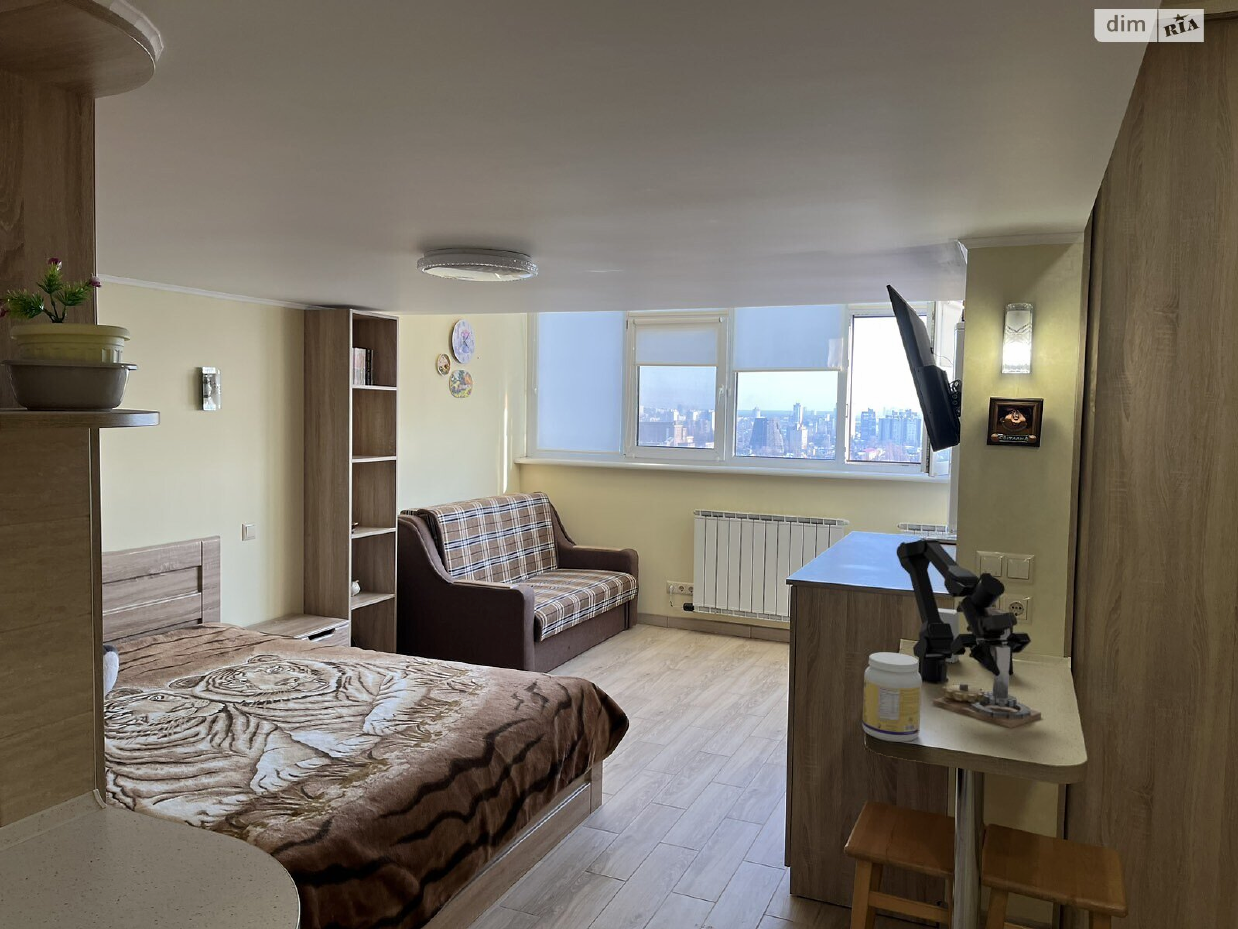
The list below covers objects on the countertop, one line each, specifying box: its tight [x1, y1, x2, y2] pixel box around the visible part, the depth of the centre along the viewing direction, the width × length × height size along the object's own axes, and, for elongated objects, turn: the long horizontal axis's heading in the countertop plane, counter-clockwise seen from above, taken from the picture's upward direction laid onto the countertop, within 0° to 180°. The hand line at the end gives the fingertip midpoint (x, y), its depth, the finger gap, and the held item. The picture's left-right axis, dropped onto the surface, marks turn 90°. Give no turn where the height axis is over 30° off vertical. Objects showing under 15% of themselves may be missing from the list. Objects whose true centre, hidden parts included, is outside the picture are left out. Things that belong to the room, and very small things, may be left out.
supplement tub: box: [861, 651, 923, 743], centre depth 193 cm, size 12×12×17 cm
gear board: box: [932, 683, 1042, 729], centre depth 212 cm, size 21×14×5 cm, turn 37°
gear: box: [983, 645, 1018, 708], centre depth 208 cm, size 7×7×14 cm
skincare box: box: [938, 607, 960, 664], centre depth 259 cm, size 8×6×15 cm
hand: (1004, 675), depth 207 cm, fingers closed on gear, 3 cm apart
